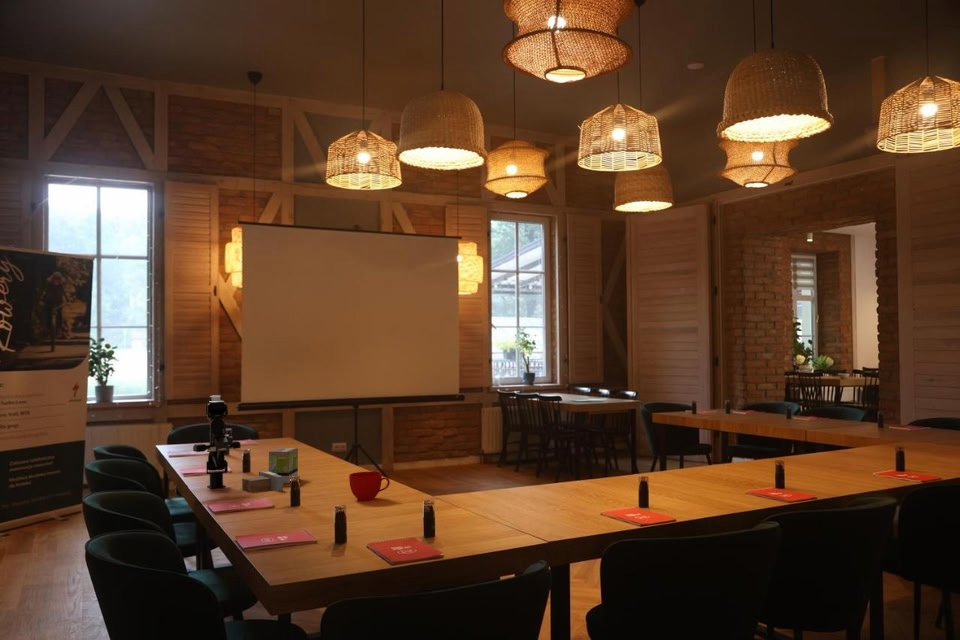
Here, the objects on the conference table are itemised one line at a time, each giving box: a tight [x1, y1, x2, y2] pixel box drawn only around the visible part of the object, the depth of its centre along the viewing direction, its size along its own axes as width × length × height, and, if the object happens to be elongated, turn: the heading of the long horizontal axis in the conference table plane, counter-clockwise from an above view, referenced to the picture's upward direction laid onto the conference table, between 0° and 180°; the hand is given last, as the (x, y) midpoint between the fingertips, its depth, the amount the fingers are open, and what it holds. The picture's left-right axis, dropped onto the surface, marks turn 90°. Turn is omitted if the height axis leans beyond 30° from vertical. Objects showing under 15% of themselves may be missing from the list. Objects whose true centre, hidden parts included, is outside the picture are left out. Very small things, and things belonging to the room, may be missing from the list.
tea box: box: [268, 447, 299, 484], centre depth 354 cm, size 15×10×15 cm, turn 179°
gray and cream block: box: [258, 470, 284, 492], centre depth 337 cm, size 22×3×6 cm, turn 37°
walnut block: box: [241, 475, 271, 493], centre depth 333 cm, size 9×9×5 cm
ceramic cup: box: [348, 471, 391, 502], centre depth 303 cm, size 13×17×10 cm
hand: (217, 466), depth 328 cm, fingers closed
